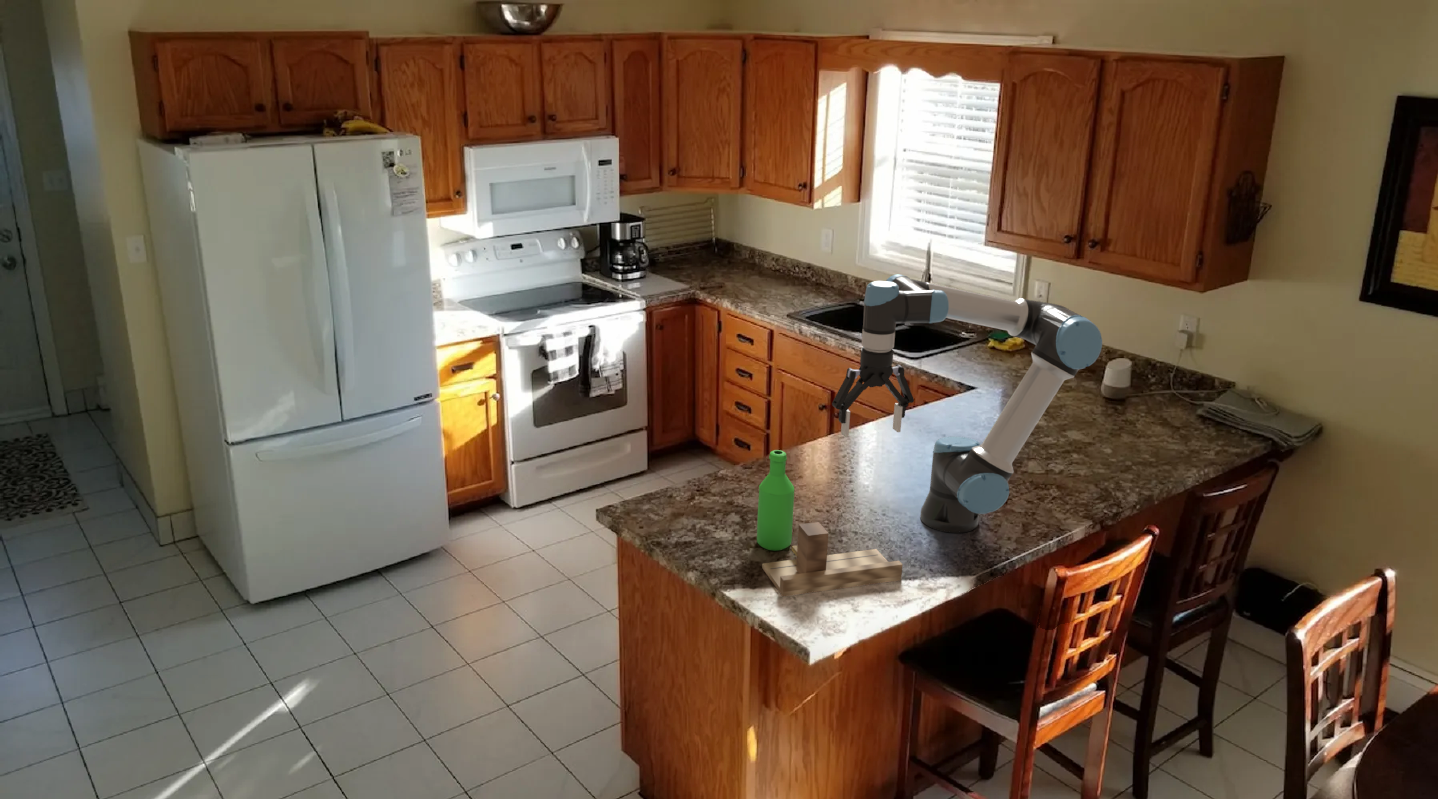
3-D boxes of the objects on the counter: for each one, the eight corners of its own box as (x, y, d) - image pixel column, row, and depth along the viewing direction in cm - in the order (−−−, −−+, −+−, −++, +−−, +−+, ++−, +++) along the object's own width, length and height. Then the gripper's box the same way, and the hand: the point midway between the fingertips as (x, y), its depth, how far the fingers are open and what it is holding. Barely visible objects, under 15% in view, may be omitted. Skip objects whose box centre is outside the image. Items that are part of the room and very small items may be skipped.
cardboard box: (803, 552, 264) (805, 507, 260) (825, 579, 252) (828, 533, 247) (784, 554, 263) (786, 509, 259) (805, 582, 250) (808, 535, 246)
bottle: (751, 538, 273) (754, 447, 265) (782, 534, 276) (787, 443, 268) (764, 554, 266) (769, 461, 257) (796, 549, 268) (802, 457, 260)
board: (875, 553, 268) (877, 538, 266) (901, 580, 255) (902, 564, 254) (762, 567, 259) (762, 552, 258) (782, 596, 246) (783, 580, 245)
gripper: (918, 340, 258) (910, 422, 265) (821, 346, 250) (816, 431, 258) (933, 349, 251) (924, 433, 258) (834, 356, 244) (828, 443, 251)
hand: (870, 432), depth 258 cm, fingers open, 13 cm apart
